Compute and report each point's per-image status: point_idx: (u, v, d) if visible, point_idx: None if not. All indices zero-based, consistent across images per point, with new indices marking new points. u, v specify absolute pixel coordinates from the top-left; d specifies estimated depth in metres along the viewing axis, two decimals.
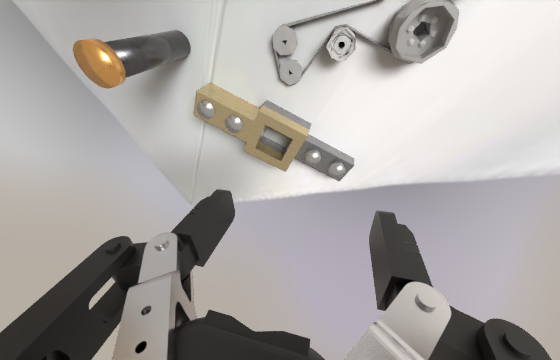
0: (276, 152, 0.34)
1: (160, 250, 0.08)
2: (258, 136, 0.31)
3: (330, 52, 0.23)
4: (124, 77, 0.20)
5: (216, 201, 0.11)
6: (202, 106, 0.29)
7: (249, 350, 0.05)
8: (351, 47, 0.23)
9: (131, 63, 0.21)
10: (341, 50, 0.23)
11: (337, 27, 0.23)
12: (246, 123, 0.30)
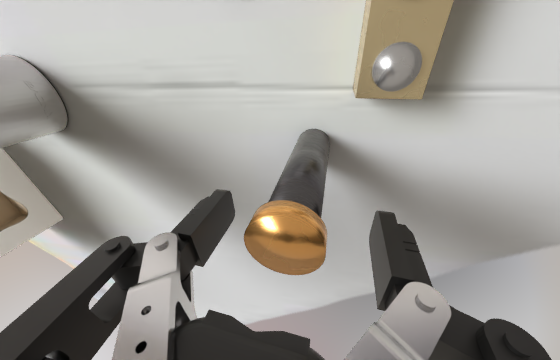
0: None
1: (160, 250, 0.08)
2: None
3: None
4: (296, 204, 0.10)
5: (216, 201, 0.11)
6: (386, 76, 0.12)
7: (249, 350, 0.05)
8: None
9: (286, 191, 0.11)
10: None
11: None
12: None
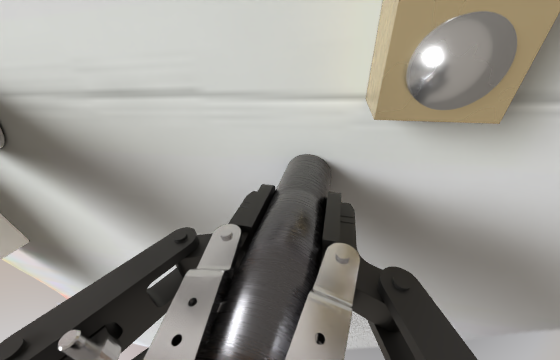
0: None
1: (228, 240, 0.08)
2: None
3: None
4: None
5: (266, 195, 0.11)
6: (437, 82, 0.07)
7: None
8: None
9: (235, 325, 0.05)
10: None
11: None
12: None
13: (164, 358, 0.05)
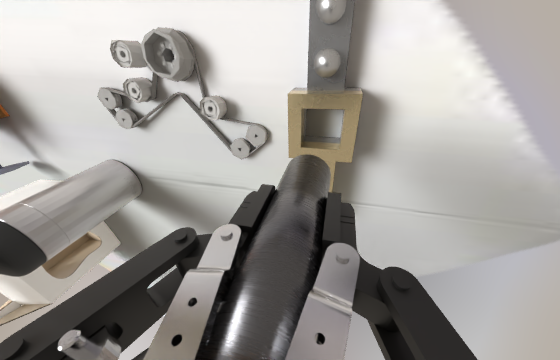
0: (343, 117, 0.23)
1: (228, 240, 0.08)
2: (319, 150, 0.24)
3: (218, 114, 0.27)
4: None
5: (266, 195, 0.11)
6: None
7: None
8: (206, 100, 0.27)
9: (235, 326, 0.05)
10: (212, 106, 0.27)
11: None
12: None
13: (164, 359, 0.05)
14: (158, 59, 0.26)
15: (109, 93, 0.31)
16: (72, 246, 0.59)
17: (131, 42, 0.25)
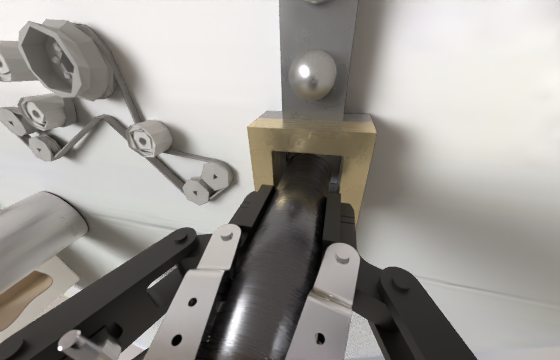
0: (342, 163, 0.14)
1: (228, 240, 0.08)
2: None
3: (155, 149, 0.18)
4: None
5: (266, 195, 0.11)
6: None
7: None
8: (135, 129, 0.18)
9: (235, 325, 0.05)
10: (145, 138, 0.18)
11: None
12: None
13: (164, 359, 0.05)
14: (57, 69, 0.17)
15: (12, 115, 0.22)
16: (23, 282, 0.50)
17: (12, 43, 0.16)
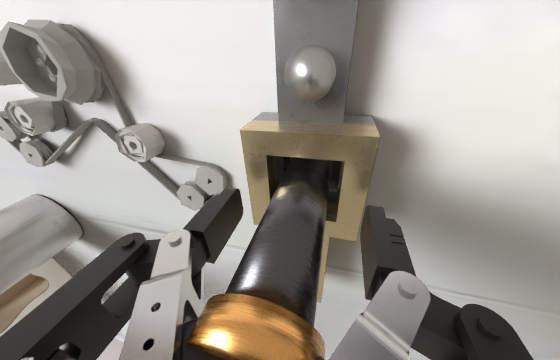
0: (342, 168, 0.13)
1: (174, 246, 0.08)
2: None
3: (146, 153, 0.18)
4: (269, 307, 0.05)
5: (226, 199, 0.11)
6: None
7: None
8: (124, 133, 0.17)
9: (260, 261, 0.07)
10: (135, 142, 0.17)
11: None
12: None
13: None
14: (42, 71, 0.16)
15: (1, 119, 0.21)
16: (19, 285, 0.50)
17: None
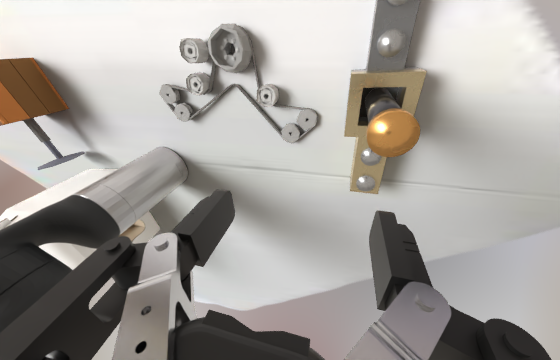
0: (401, 95, 0.25)
1: (160, 250, 0.08)
2: None
3: (273, 101, 0.30)
4: (401, 109, 0.17)
5: (216, 201, 0.11)
6: (362, 186, 0.31)
7: (249, 350, 0.05)
8: (263, 88, 0.29)
9: (386, 109, 0.19)
10: (268, 94, 0.30)
11: None
12: (364, 144, 0.28)
13: None
14: (220, 53, 0.29)
15: (170, 89, 0.34)
16: None
17: (196, 39, 0.28)
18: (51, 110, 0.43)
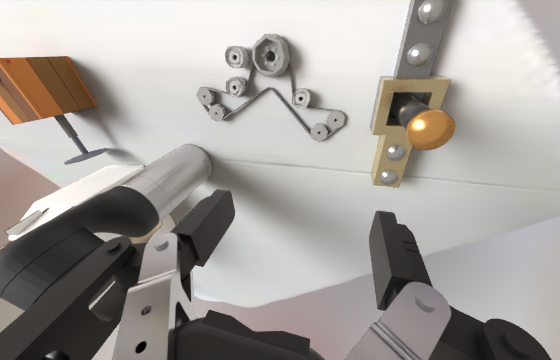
0: (425, 100, 0.28)
1: (160, 250, 0.08)
2: (402, 127, 0.30)
3: (307, 103, 0.33)
4: (438, 110, 0.21)
5: (216, 201, 0.11)
6: (385, 180, 0.34)
7: (249, 350, 0.05)
8: (298, 91, 0.33)
9: (423, 110, 0.22)
10: (303, 96, 0.33)
11: None
12: (390, 142, 0.31)
13: None
14: (261, 60, 0.32)
15: (207, 91, 0.37)
16: None
17: (240, 47, 0.31)
18: (82, 106, 0.45)
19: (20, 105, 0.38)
